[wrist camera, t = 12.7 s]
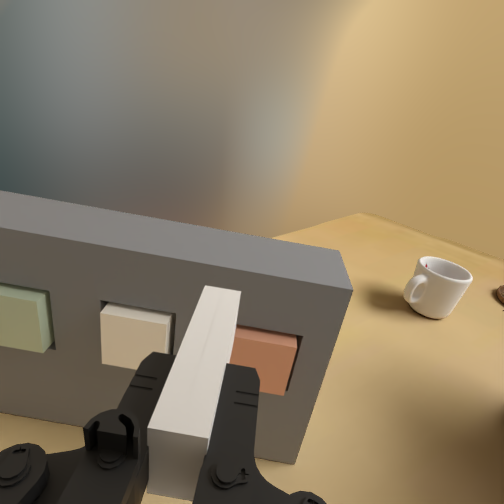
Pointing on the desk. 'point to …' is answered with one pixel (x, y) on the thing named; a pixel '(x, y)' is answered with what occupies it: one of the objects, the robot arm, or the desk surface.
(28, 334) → the sage green button
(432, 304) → the cup
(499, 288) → the place setting
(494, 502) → the desk surface
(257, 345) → the terracotta button
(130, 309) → the cream button
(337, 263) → the button panel
